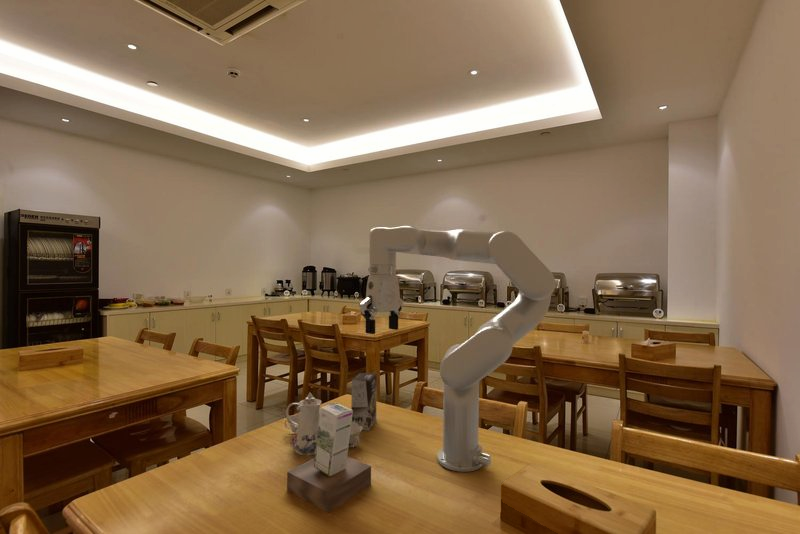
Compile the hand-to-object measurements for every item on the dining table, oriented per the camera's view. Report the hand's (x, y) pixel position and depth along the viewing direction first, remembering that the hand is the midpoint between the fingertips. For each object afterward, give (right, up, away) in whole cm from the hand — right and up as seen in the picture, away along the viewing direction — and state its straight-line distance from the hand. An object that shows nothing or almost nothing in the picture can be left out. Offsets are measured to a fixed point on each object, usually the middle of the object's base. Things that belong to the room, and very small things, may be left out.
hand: (382, 331), depth 113 cm
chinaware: (-20, -35, +4) cm, 40 cm away
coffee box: (-7, -34, +19) cm, 40 cm away
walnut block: (-12, -35, -18) cm, 41 cm away
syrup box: (-12, -30, -19) cm, 37 cm away
